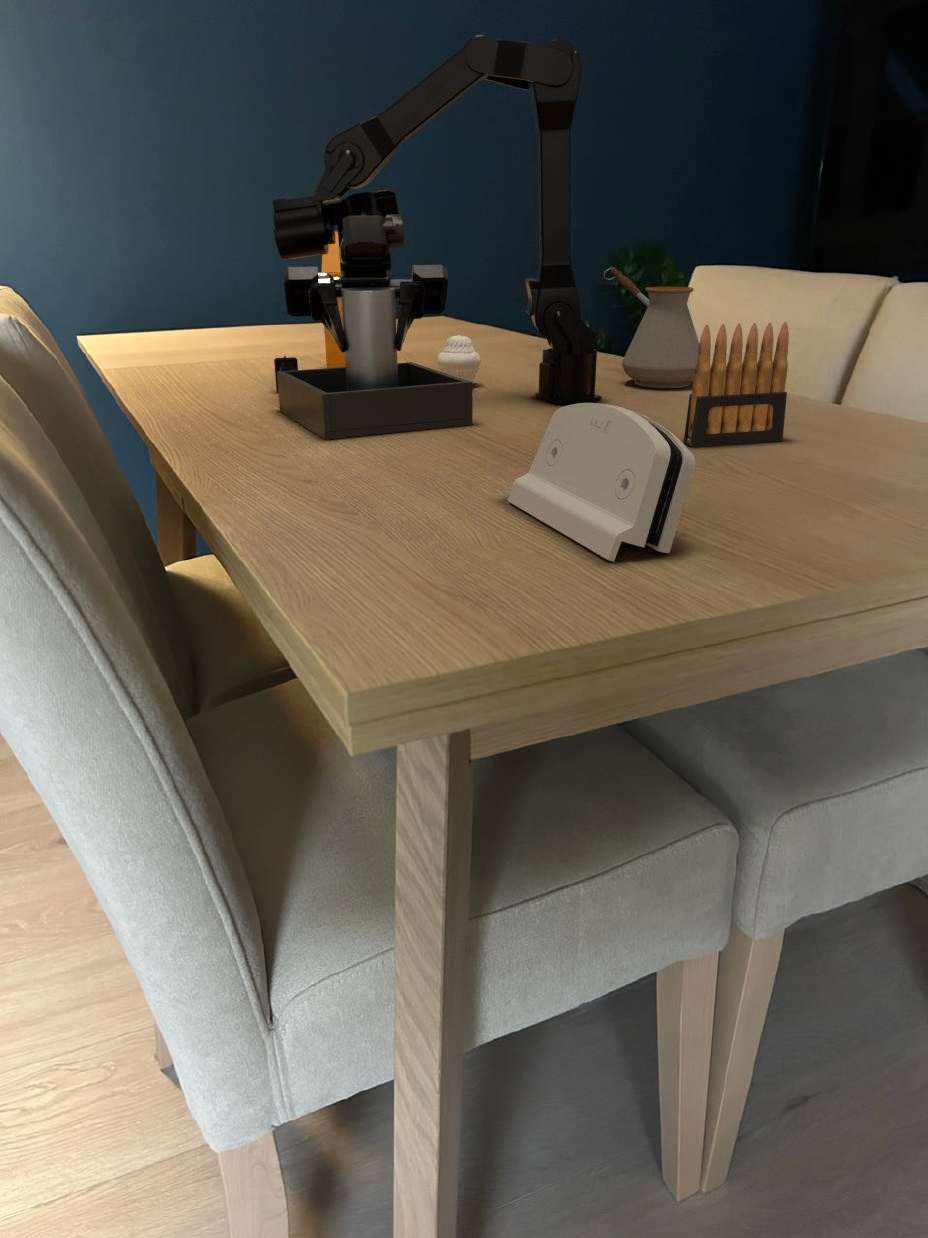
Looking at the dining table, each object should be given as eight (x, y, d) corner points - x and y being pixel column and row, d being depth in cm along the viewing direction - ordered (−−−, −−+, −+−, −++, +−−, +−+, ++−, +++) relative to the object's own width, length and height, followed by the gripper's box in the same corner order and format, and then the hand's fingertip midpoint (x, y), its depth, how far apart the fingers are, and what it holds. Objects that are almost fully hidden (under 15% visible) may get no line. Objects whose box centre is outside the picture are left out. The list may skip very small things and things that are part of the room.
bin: (412, 399, 122) (411, 361, 120) (472, 424, 107) (472, 381, 105) (279, 411, 114) (276, 371, 113) (325, 439, 100) (322, 394, 98)
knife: (296, 397, 116) (294, 360, 114) (271, 397, 115) (268, 360, 114) (302, 384, 145) (301, 354, 143) (283, 384, 144) (281, 354, 143)
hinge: (505, 499, 78) (544, 382, 76) (551, 511, 80) (591, 398, 78) (610, 561, 64) (663, 420, 62) (663, 574, 66) (716, 438, 64)
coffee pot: (720, 387, 130) (732, 271, 124) (650, 393, 125) (659, 274, 119) (635, 366, 148) (642, 265, 142) (571, 371, 143) (575, 266, 137)
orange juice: (385, 375, 140) (380, 230, 132) (326, 375, 141) (317, 230, 133) (389, 367, 148) (385, 229, 140) (333, 367, 148) (326, 229, 140)
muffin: (430, 387, 130) (429, 335, 127) (446, 380, 135) (446, 330, 132) (472, 390, 128) (472, 337, 125) (487, 383, 133) (487, 332, 130)
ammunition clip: (773, 437, 101) (788, 320, 96) (783, 440, 99) (798, 322, 94) (682, 443, 98) (693, 323, 93) (691, 447, 96) (702, 325, 92)
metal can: (387, 399, 114) (383, 286, 109) (406, 407, 109) (403, 289, 104) (340, 403, 111) (334, 287, 106) (357, 412, 106) (352, 291, 101)
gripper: (277, 188, 103) (281, 301, 98) (445, 187, 106) (458, 299, 100) (285, 261, 114) (290, 368, 108) (438, 259, 116) (450, 364, 110)
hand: (371, 349), depth 106 cm, fingers closed on metal can, 6 cm apart
